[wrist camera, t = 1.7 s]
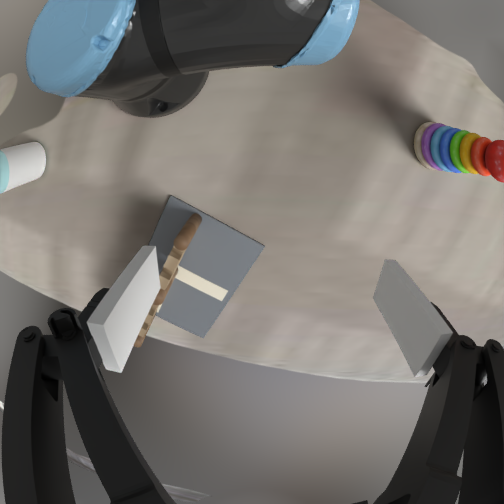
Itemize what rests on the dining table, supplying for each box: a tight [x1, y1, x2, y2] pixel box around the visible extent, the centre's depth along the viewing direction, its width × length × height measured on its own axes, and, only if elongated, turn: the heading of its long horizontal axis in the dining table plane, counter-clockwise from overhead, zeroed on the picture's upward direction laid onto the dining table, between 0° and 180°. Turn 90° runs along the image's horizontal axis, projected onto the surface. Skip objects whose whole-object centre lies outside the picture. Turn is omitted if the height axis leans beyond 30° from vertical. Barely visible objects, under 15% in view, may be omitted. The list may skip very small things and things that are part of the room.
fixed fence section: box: [133, 267, 178, 347], centre depth 41 cm, size 2×12×10 cm, turn 150°
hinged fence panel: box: [159, 213, 202, 290], centre depth 36 cm, size 2×9×9 cm, turn 149°
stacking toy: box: [414, 122, 504, 182], centre depth 25 cm, size 8×8×19 cm
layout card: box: [149, 195, 265, 338], centre depth 44 cm, size 16×22×1 cm
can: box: [0, 142, 46, 193], centre depth 29 cm, size 7×7×12 cm
